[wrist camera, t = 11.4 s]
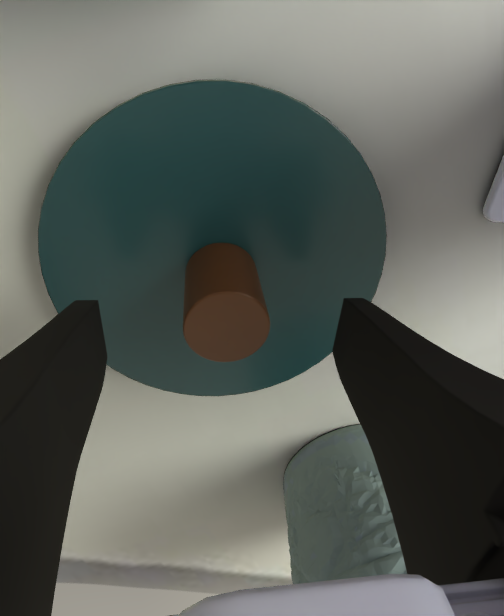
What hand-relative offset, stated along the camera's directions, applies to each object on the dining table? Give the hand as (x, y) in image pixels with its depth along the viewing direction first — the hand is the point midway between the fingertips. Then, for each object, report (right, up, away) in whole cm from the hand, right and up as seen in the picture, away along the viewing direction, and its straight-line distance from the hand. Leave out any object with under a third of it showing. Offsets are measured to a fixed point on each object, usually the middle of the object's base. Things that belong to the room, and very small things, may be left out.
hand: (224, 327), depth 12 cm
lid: (0, +2, +3) cm, 4 cm away
